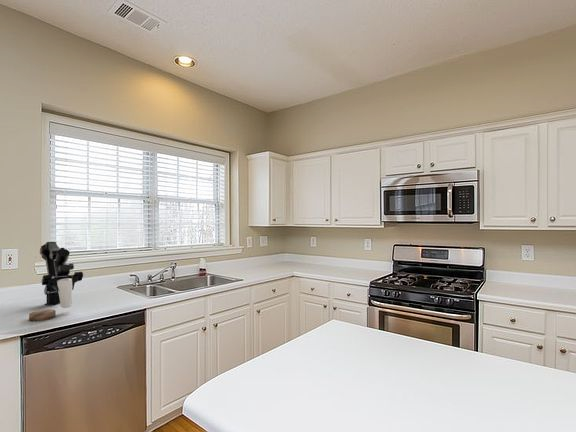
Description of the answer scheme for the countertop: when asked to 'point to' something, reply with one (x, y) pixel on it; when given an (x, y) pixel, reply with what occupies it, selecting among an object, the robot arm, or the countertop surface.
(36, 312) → the walnut pedestal
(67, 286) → the drinking glass
